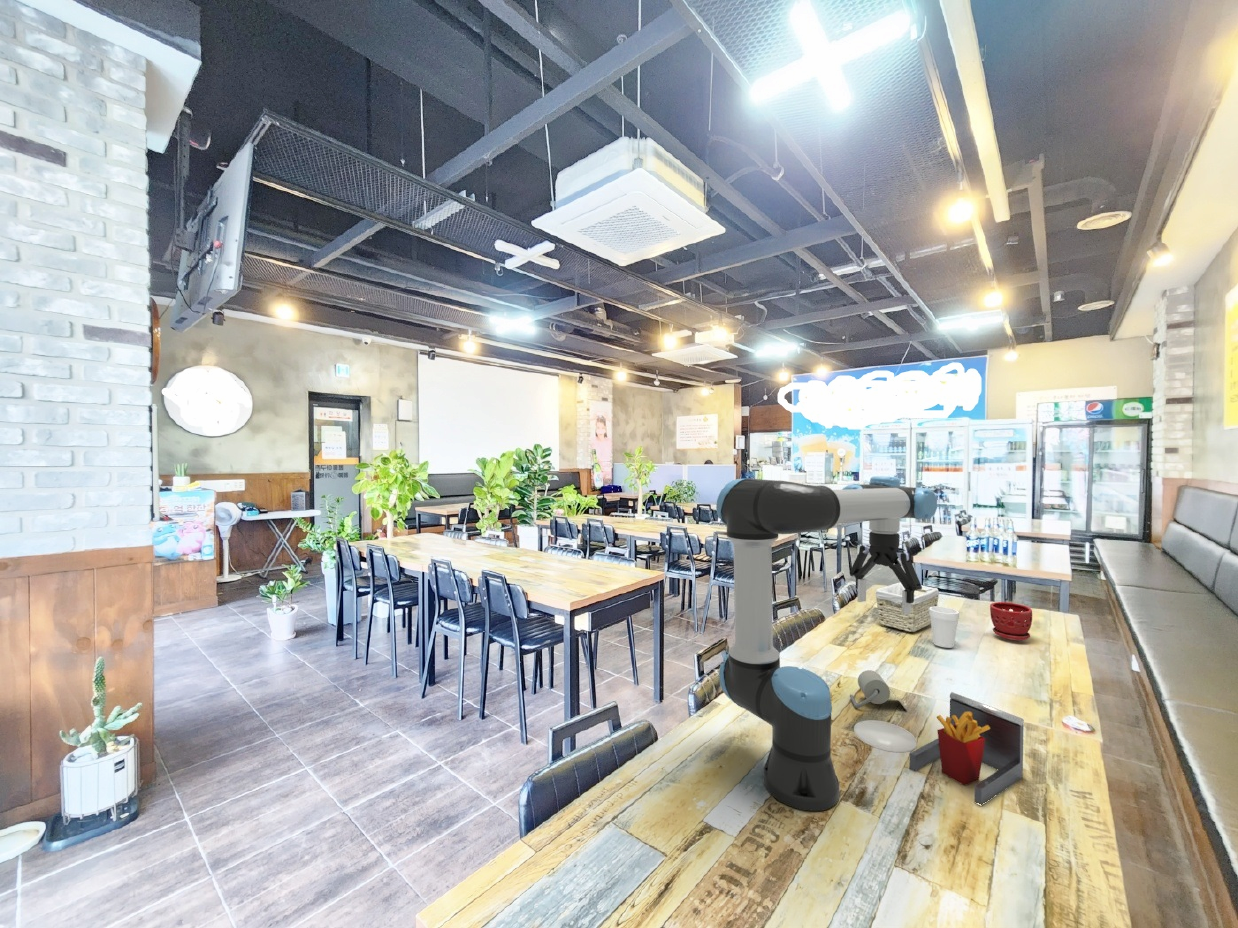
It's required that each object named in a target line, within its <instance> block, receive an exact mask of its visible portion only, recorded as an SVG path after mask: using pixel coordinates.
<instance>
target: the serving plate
mask: <svg viewBox="0 0 1238 928" xmlns="http://www.w3.org/2000/svg"><path fill="white" fill-rule="evenodd" d="M853 728H854V729H853V732H854V735H855V736H856V737H857V738H858V739H859V740H860V741H861V742H863V743H865V744H866V745H868V746H871V747H873V748H875V749H878V750H881V751H885V752H890V753H899V754H900V753H909V752H910V753H911V752H913V751H915V750H916V748H917V746H918V741H917V739H916V737H915V736H914V734H913V733H911V732H910V731H908V730H907V729H906V728H903V727H901V726H900V725H897V724H894V723H891V722H888V721H882V720H876V719H875V720H874V719H868V720H866V719H865V720H862V721H859V722H857V723H855V725H854V727H853Z"/></svg>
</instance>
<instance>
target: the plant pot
mask: <svg viewBox="0 0 1238 928" xmlns="http://www.w3.org/2000/svg"><path fill="white" fill-rule="evenodd" d="M989 610H990V611H989V612H990V613H989V614H990V618H991V620H990V621H991V623H992V624H993V626H994V627H992V631H993V633H994V634H995V635H997V636H998V637H1000V638H1003V639H1007V640H1011V641H1022V642H1023V641H1025V640H1028V639H1030V637H1031V633H1030V632H1029V631H1030V630H1031V627H1032V622H1033V609H1032V608H1031V607H1029V606H1027V605H1023V604H1019V603H1013V602H1005V601H999V602H998V601H997V602H992V603H990V604H989Z"/></svg>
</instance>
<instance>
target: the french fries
mask: <svg viewBox="0 0 1238 928" xmlns="http://www.w3.org/2000/svg"><path fill="white" fill-rule="evenodd" d="M972 715H973V714H972V713H971V712H970V711H969V712H964V714H963V715H962V716H961V717H960V719H959V720H958V718H957V717H956V716H955V715H953V716H952V718H953V719H954V721H955V723H956V724H955V725H952V724H951V718H950V716H946V717H945V719H944V718H943V717H942V716H941V714H939V715H937V716H936V719H937V720H938V721H939V723H940V724H941V725H942V726H943V727H942V728H939V729H937V739H938V740H939V749H940V758H939V759H940V765H941V773H942V774H943V775H945V776H947V777H948V778H951V779H952V780H954V781H955V782H957V783H959V784H961V785H963V786H967V785H969V784H973V783H975V782H979V781H980V776H981V775H980V774H981V768H982V764H983V763H982V756H983V750H984V743H985V738H983V737H981V736H980V735H979V734H980V733H982V732H985V731H987V730H989V729H990V727H989V726H988V725H986V726H984V727H982V728H981V727H980V726H978V724H977V721H976V720H973V718H972ZM966 724H967V726H968V727H967V729H965V727H966Z"/></svg>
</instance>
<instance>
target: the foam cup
mask: <svg viewBox="0 0 1238 928" xmlns="http://www.w3.org/2000/svg"><path fill="white" fill-rule="evenodd" d="M929 615H930V620H931V624H930V625H931V634H932V641H933V644H934V645H936V646H937V647H941V648H949V649H951V648H953V647H954V645H955V640H956V634H957V629H958V628H957V627H958V624H959V619H960V612H959V610H957V609H954V608H951V607H948V606H947V607H946V606H938V605H937V606H934V607H930V608H929Z"/></svg>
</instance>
